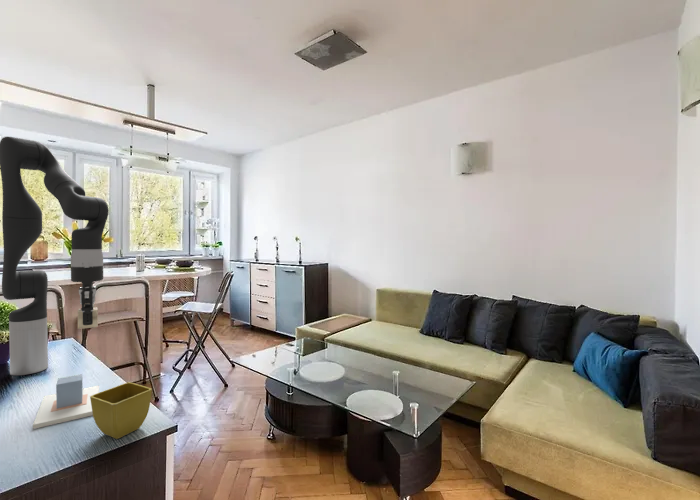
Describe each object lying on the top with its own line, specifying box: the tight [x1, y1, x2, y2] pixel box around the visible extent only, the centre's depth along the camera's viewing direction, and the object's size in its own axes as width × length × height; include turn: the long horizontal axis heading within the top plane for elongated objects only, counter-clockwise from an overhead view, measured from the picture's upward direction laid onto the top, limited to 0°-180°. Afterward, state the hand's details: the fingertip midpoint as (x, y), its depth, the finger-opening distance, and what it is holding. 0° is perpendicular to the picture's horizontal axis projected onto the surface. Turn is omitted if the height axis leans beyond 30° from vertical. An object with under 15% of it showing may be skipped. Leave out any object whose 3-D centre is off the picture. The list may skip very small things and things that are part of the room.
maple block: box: [77, 307, 99, 330], centre depth 100 cm, size 4×4×5 cm
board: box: [32, 385, 100, 430], centre depth 89 cm, size 18×12×1 cm, turn 36°
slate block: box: [55, 373, 84, 408], centre depth 89 cm, size 5×5×6 cm
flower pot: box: [90, 381, 153, 440], centre depth 77 cm, size 9×9×9 cm
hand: (88, 322), depth 100 cm, fingers closed on maple block, 4 cm apart
